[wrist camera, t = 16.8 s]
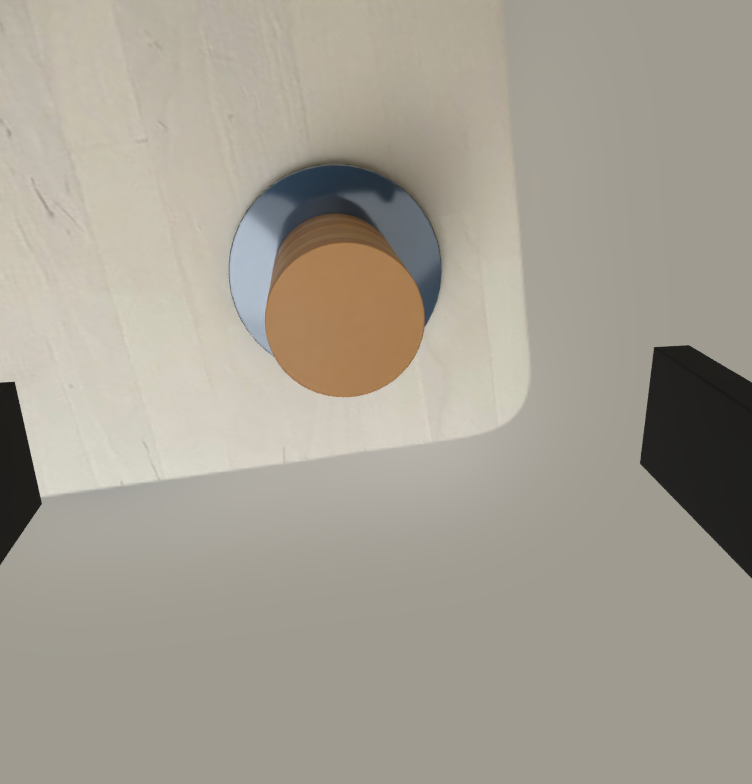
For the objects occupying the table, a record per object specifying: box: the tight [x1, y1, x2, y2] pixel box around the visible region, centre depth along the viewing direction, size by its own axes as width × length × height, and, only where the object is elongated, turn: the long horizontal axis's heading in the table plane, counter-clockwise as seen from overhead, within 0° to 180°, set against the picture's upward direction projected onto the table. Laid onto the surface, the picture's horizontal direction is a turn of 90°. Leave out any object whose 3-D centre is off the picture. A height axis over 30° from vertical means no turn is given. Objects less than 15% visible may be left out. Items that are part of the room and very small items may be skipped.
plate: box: [229, 164, 441, 356], centre depth 41 cm, size 12×12×1 cm
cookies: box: [265, 213, 425, 397], centre depth 36 cm, size 7×7×10 cm
